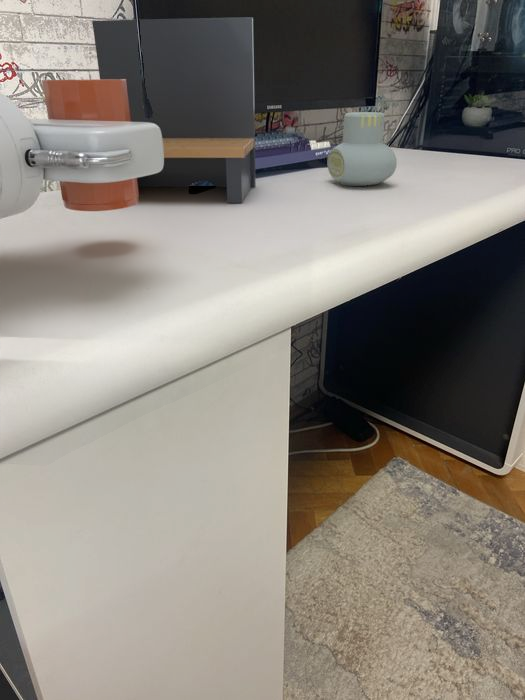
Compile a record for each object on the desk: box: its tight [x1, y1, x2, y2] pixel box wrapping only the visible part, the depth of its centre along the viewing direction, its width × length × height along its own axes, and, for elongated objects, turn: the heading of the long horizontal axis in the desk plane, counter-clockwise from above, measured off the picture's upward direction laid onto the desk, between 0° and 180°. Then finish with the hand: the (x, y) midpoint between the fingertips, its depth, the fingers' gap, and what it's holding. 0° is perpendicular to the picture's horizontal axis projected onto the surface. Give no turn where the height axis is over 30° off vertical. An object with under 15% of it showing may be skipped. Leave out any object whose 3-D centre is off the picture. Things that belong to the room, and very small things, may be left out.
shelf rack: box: [92, 16, 257, 204], centre depth 72 cm, size 22×13×22 cm, turn 85°
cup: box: [41, 78, 140, 212], centre depth 48 cm, size 7×7×10 cm
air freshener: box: [326, 111, 398, 187], centre depth 81 cm, size 11×8×10 cm
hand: (98, 136), depth 49 cm, fingers closed on cup, 7 cm apart
